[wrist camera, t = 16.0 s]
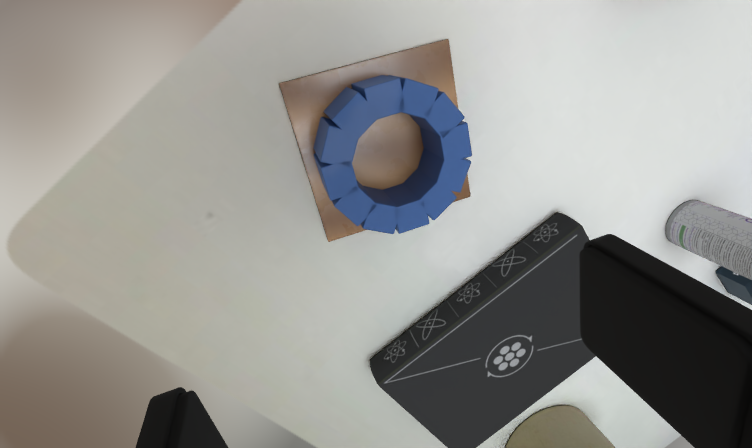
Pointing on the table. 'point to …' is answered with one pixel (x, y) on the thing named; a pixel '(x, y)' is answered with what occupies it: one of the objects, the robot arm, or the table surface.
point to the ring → (436, 167)
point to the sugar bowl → (558, 430)
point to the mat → (383, 138)
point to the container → (713, 235)
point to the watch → (736, 284)
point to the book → (493, 340)
